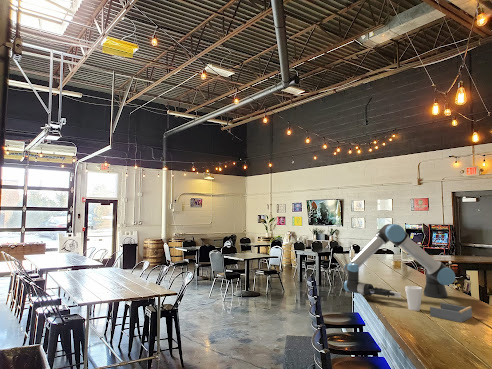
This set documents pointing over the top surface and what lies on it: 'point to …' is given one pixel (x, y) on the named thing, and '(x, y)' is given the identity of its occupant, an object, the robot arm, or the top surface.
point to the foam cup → (413, 297)
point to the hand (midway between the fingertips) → (400, 295)
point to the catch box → (451, 312)
